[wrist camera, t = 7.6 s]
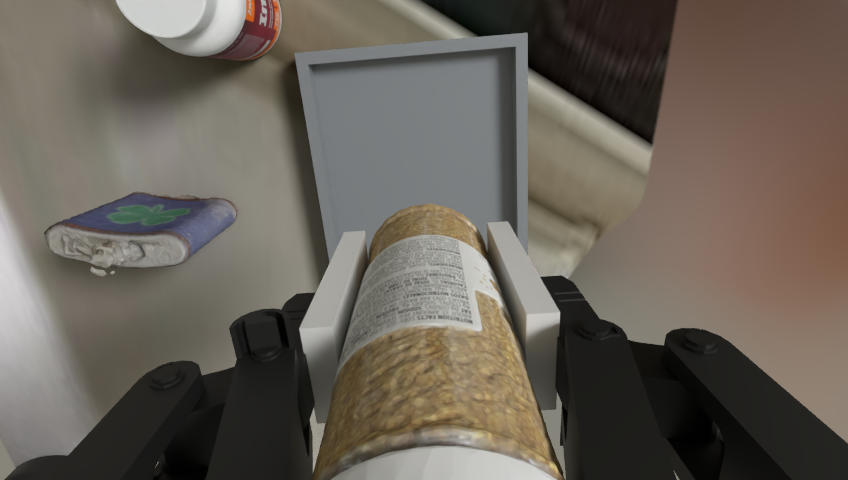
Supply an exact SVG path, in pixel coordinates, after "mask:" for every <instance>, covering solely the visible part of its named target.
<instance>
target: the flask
mask: <svg viewBox="0 0 848 480" xmlns="http://www.w3.org/2000/svg"><path fill="white" fill-rule="evenodd" d="M236 217H237V210H236V206H235V204H234V203H231V202H230V201H228V200H225V199H221V198H217V197H212V198H210V199H203V198H196V197H195V196H189V195H186V196H184V195H182V196H180V195H179V197H175V198H171V197H169V196H168V195H164V196H156V195H154V194H153V193H151V194H150V193H144V192H134V193H132V194H130V195H128V196H126V197H124V198H121V199H118V200H116V201H114V202H111V203H108V204H105V205H102V206H100V207H98V208H95V209H93V210H90V211H88V212H85V213H83V214H79V215H77V216H74V217H71V218H70V219H66V220H63V221H62V222H58V223H56V224H54V225H52V226H50V227H49V228H48V229H47V230H46V231H45V233H44V234H45V239H46V243H47V245H48V246H49V248H50V249H51V250H52V252H53V253H55V254H58V255H59V256H61V257H65V258H70V259H75V260H79V261H82V262H86V263H91V264H95V265H96V266H98V267H99V266H101V267H103V268H105V269H106V268H108V267H109V266H111V267H115V268H117V267H122V268H151V267H167V266H176V265H178V264H182V263H184V262H185V261H186V260H187V259H189V258H190V257H191V256H192V255H193V254H194V253H196V252H197V251H198V250H199V249H200V248H202V247H203V246H204V245H206V244H207V243H208V242H209V241H211V240H212V239H213V238H214V237H215V236H217V235H218V234H219V233H221V232H222V231H224V230H225V229H226V228H227V227H229V226H230V225H232V224H233V223H234V222H235V220H236ZM90 271H91V272H92V273H94V274H96V275H99V276H106V275H107V274H106V272H105V271H104V270H99V269H95V268H94V267H92V268H91V270H90ZM110 274H111V275H112V274H115V271H111V273H110Z"/></svg>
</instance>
